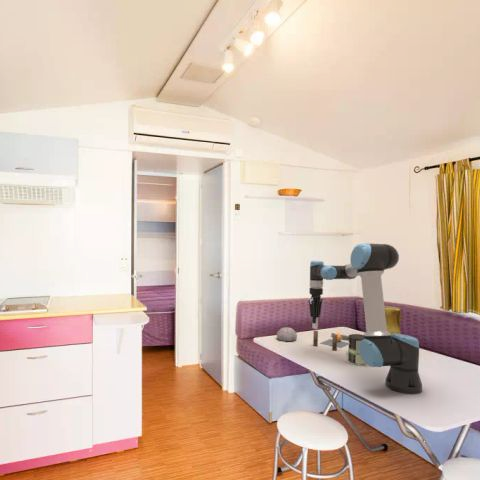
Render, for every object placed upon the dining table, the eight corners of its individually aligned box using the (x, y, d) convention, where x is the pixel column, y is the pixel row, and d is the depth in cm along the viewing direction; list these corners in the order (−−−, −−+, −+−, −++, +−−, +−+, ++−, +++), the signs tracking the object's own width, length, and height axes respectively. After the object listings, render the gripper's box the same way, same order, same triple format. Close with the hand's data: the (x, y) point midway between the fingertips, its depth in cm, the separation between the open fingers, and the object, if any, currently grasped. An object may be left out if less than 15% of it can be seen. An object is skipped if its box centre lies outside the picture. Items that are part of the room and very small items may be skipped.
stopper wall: (357, 342, 248) (357, 338, 248) (331, 337, 259) (331, 333, 259) (358, 341, 249) (358, 337, 249) (332, 336, 261) (332, 332, 261)
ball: (339, 343, 244) (339, 334, 245) (331, 341, 248) (331, 332, 248) (343, 341, 249) (343, 333, 249) (335, 340, 252) (335, 331, 252)
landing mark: (340, 347, 234) (340, 347, 234) (319, 343, 243) (319, 343, 243) (350, 343, 244) (350, 343, 244) (329, 339, 253) (329, 339, 253)
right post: (335, 351, 227) (336, 335, 227) (331, 350, 229) (331, 334, 228) (337, 350, 229) (337, 334, 229) (333, 349, 231) (333, 334, 230)
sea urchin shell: (276, 342, 244) (276, 329, 244) (276, 336, 257) (276, 324, 257) (297, 343, 243) (298, 330, 243) (296, 337, 256) (296, 325, 256)
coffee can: (345, 363, 204) (346, 336, 204) (350, 358, 213) (351, 333, 213) (365, 367, 199) (366, 339, 199) (369, 362, 208) (370, 335, 208)
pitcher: (366, 341, 248) (370, 303, 247) (396, 344, 247) (399, 305, 246) (374, 350, 231) (378, 309, 230) (406, 353, 230) (410, 311, 229)
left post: (316, 346, 235) (316, 331, 235) (312, 345, 237) (312, 331, 236) (318, 345, 237) (318, 331, 237) (314, 345, 239) (314, 330, 238)
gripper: (316, 289, 215) (315, 331, 215) (327, 287, 225) (326, 327, 225) (304, 287, 220) (303, 329, 220) (315, 286, 230) (314, 325, 230)
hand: (315, 328), depth 223 cm, fingers closed
